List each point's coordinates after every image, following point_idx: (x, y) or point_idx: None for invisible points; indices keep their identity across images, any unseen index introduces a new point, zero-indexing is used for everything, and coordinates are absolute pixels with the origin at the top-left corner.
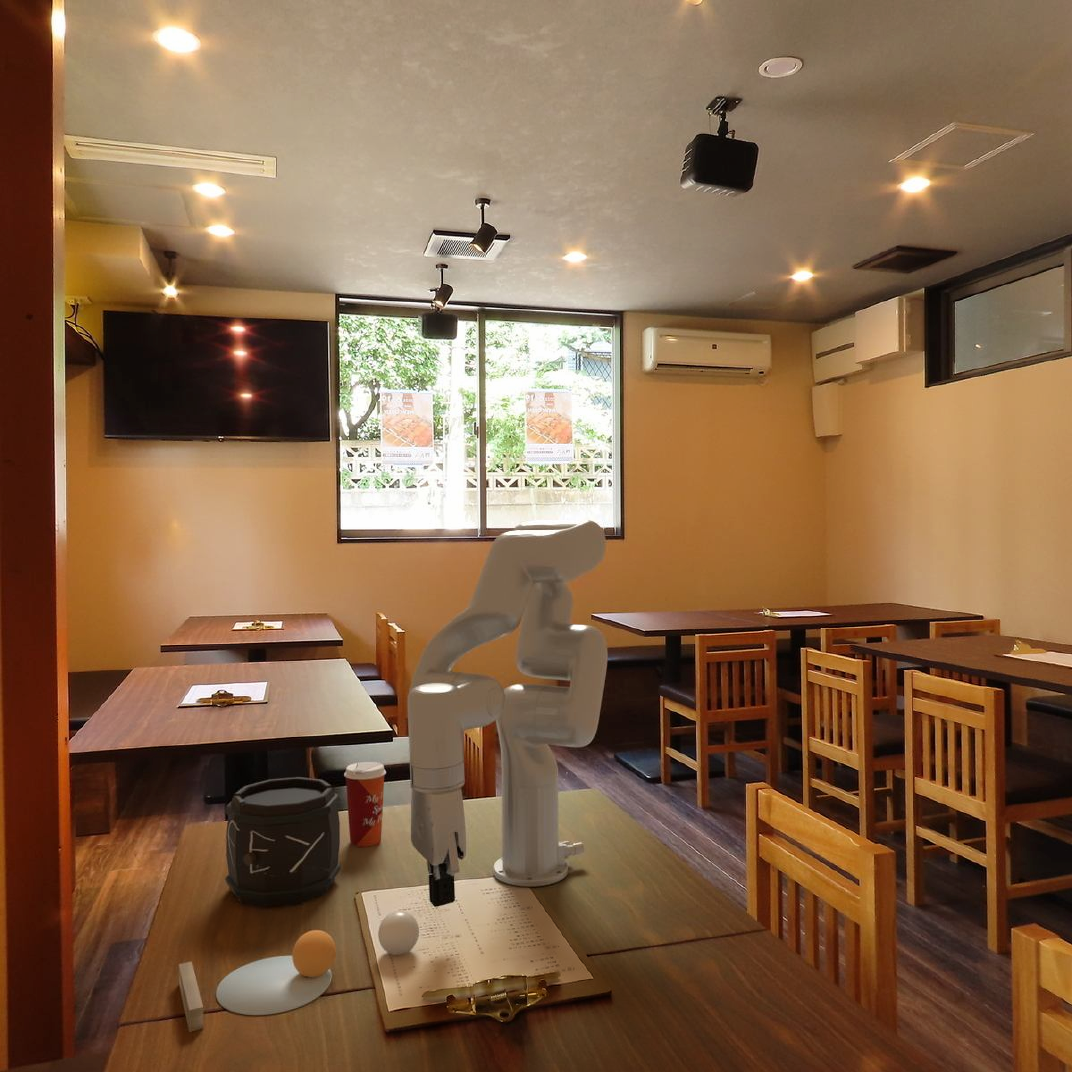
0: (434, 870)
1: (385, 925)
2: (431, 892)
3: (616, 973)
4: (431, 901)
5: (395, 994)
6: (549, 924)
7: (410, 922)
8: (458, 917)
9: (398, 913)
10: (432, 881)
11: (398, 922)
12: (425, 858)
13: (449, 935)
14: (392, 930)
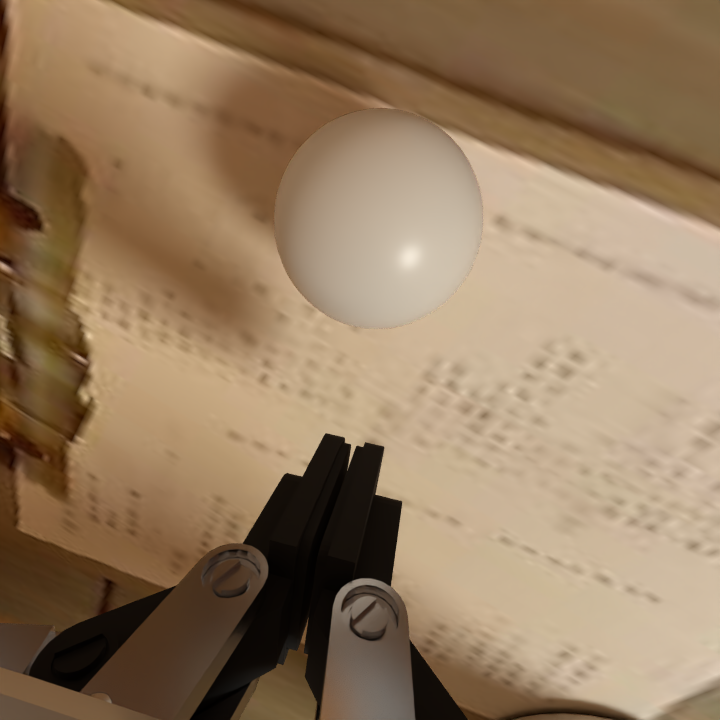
0: (223, 613)
1: (354, 130)
2: (352, 480)
3: (22, 566)
4: (365, 448)
5: (102, 47)
6: None
7: (293, 269)
8: (485, 515)
9: (349, 231)
10: (280, 528)
11: (297, 197)
12: (37, 714)
13: (391, 428)
14: (302, 153)
